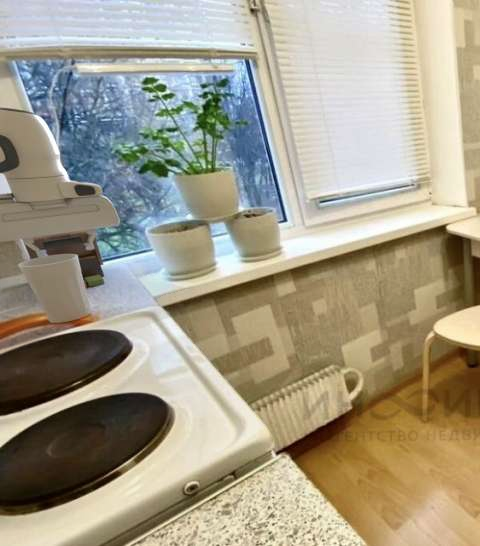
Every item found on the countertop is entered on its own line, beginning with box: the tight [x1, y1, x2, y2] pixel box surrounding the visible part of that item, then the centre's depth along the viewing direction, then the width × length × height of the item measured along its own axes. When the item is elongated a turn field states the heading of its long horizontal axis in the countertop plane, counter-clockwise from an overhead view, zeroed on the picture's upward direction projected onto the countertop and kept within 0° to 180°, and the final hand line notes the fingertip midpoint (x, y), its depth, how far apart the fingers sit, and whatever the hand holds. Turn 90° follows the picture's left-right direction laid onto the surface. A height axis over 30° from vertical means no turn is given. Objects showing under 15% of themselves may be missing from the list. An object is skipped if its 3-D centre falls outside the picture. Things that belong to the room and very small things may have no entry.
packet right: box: [84, 275, 105, 288], centre depth 103 cm, size 3×5×1 cm, turn 51°
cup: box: [17, 254, 93, 324], centre depth 83 cm, size 8×8×12 cm
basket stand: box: [28, 256, 105, 281], centre depth 105 cm, size 11×10×6 cm
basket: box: [21, 230, 104, 266], centre depth 96 cm, size 11×10×10 cm
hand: (67, 253), depth 93 cm, fingers closed on basket, 6 cm apart
